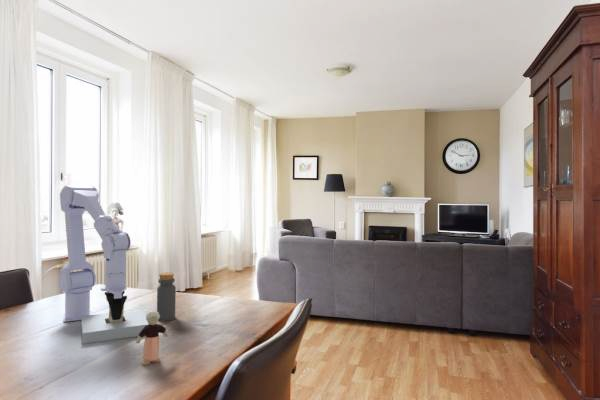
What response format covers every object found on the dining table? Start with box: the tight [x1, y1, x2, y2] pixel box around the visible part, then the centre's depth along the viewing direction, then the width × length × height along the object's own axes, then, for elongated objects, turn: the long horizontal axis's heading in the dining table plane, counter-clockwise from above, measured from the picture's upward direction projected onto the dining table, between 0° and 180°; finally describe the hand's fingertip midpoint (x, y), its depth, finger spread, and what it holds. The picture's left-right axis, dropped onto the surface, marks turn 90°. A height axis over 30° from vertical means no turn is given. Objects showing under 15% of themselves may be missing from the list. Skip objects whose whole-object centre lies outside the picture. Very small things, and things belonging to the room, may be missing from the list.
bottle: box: [156, 272, 177, 322], centre depth 136 cm, size 6×6×15 cm
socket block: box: [80, 308, 149, 345], centre depth 124 cm, size 18×18×3 cm
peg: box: [108, 305, 125, 323], centre depth 124 cm, size 4×4×8 cm
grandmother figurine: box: [135, 309, 169, 366], centre depth 101 cm, size 8×4×13 cm, turn 139°
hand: (115, 317), depth 124 cm, fingers open, 5 cm apart
